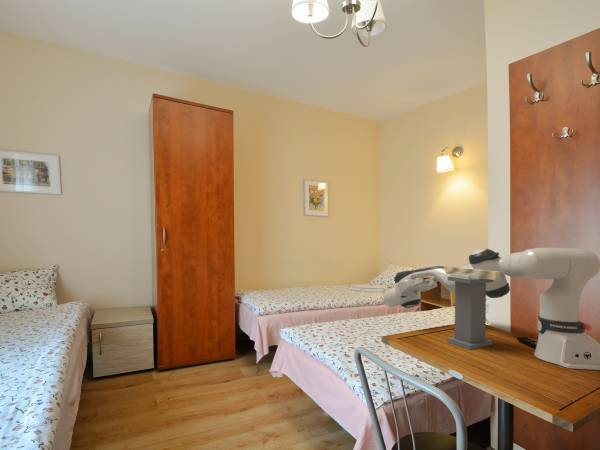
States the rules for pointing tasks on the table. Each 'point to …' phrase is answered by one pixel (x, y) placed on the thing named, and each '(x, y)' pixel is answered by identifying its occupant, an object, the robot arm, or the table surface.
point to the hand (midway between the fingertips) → (430, 279)
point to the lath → (474, 272)
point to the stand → (470, 311)
